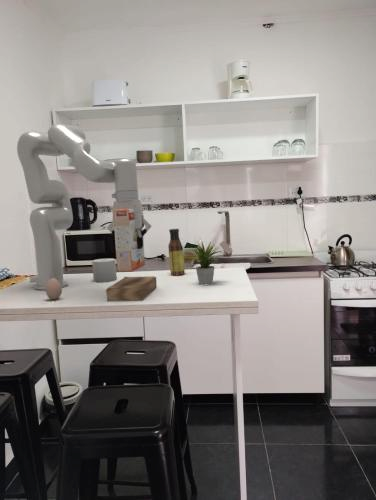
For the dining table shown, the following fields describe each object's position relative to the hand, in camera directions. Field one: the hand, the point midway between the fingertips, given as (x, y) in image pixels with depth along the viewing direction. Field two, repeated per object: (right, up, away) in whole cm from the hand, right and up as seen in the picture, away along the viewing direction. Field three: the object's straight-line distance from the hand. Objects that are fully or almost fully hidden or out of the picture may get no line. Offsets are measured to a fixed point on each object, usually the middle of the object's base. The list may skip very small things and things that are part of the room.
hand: (130, 248), depth 142 cm
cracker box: (0, -7, +1) cm, 7 cm away
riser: (+1, -16, +2) cm, 16 cm away
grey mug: (-15, -13, +32) cm, 38 cm away
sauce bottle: (+15, -11, +36) cm, 41 cm away
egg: (-26, -18, -1) cm, 32 cm away
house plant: (+27, -14, +13) cm, 33 cm away
